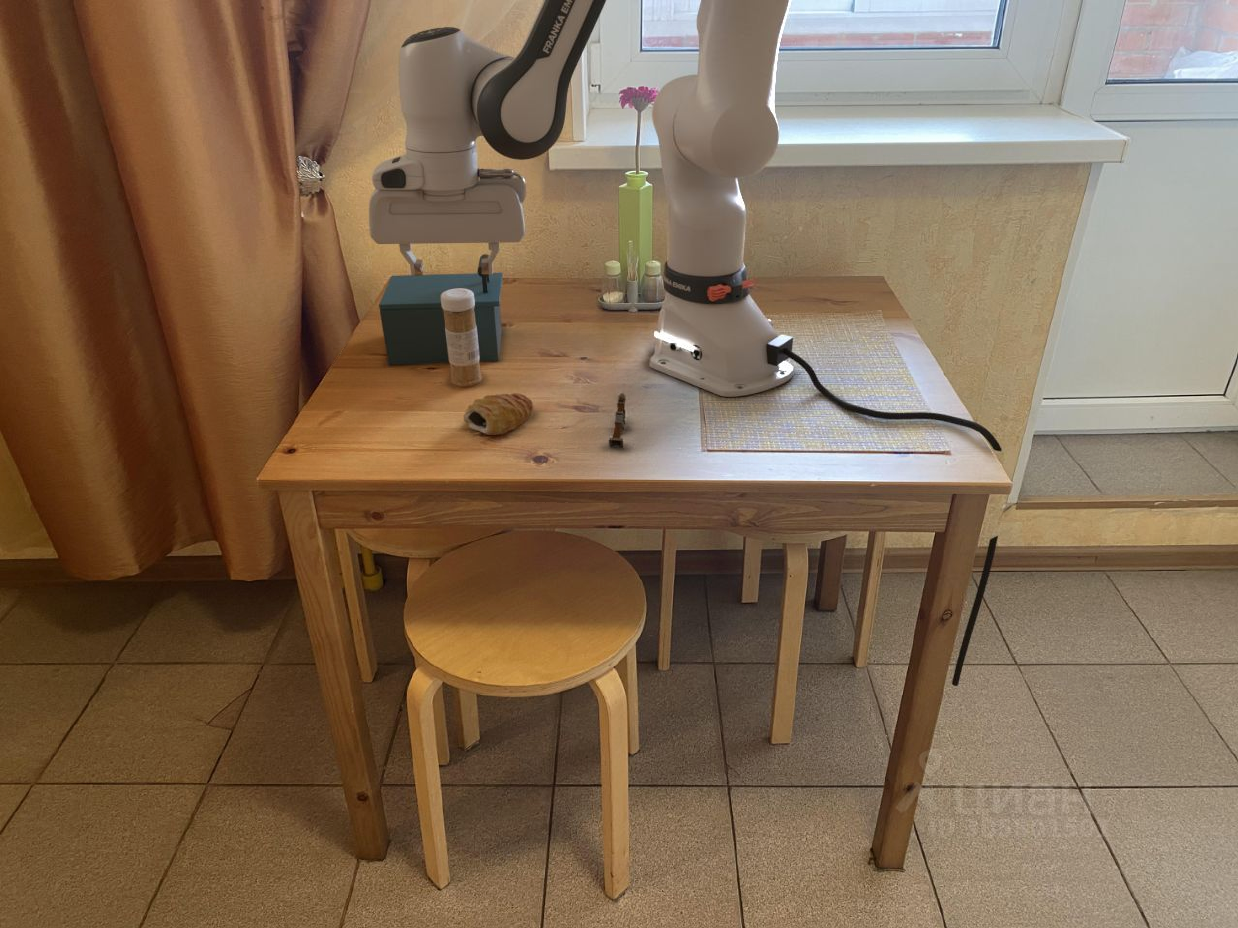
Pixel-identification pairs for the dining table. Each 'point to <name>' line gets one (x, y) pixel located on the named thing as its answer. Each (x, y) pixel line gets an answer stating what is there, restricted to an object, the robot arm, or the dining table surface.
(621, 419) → the wooden post with brackets
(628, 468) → the dining table surface
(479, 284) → the lid
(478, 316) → the chest
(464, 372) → the sprinkles bottle
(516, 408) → the pastry
